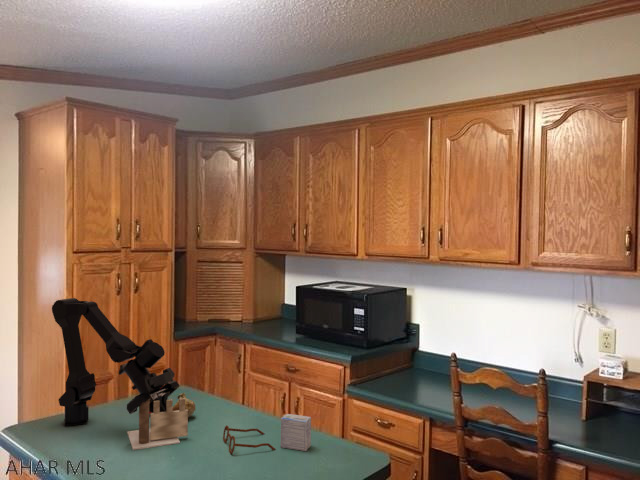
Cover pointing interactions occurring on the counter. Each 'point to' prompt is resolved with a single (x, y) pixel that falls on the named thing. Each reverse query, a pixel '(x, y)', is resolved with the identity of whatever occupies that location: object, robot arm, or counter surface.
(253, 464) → the counter surface
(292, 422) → the medicine box
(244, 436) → the counter surface
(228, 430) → the glasses
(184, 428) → the fence section
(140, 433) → the gatepost
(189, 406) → the onion
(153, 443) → the card
